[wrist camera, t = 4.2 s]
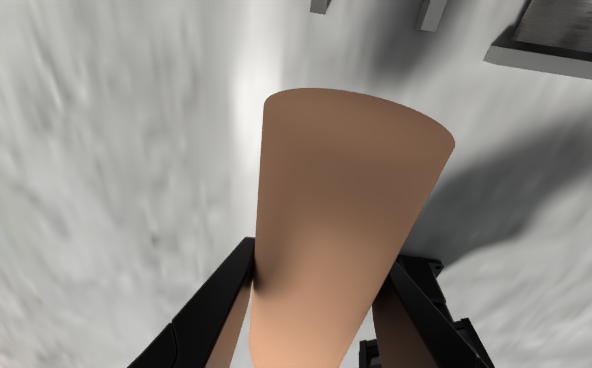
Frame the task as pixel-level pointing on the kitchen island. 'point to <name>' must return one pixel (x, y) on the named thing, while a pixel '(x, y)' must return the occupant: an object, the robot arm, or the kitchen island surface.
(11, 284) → the kitchen island surface
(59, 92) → the kitchen island surface
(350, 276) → the roller
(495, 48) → the track
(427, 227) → the kitchen island surface
